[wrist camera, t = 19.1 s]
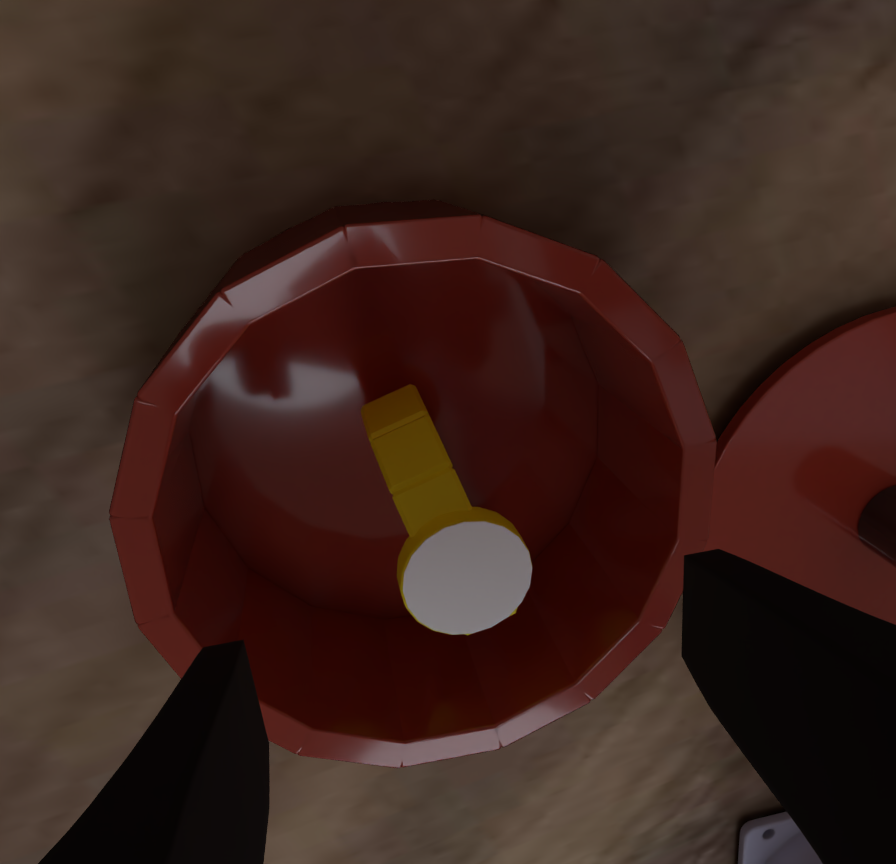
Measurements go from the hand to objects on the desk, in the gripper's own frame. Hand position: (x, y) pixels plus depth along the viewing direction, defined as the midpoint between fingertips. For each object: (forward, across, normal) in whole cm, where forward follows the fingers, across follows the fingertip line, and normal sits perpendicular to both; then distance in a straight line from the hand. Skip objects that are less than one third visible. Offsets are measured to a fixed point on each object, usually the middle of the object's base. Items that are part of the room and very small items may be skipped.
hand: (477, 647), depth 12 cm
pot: (+10, 0, 0) cm, 10 cm away
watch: (+9, 0, +1) cm, 9 cm away
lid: (+9, -15, +5) cm, 18 cm away
